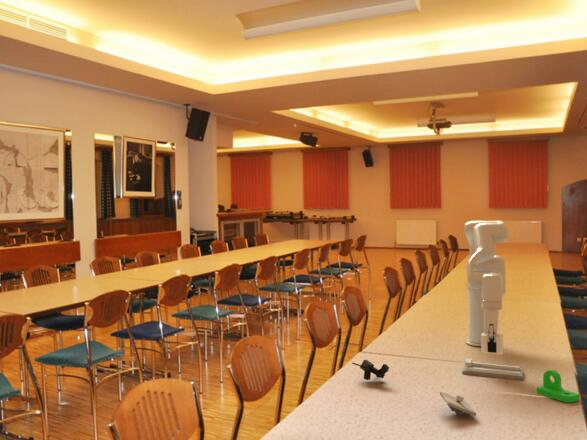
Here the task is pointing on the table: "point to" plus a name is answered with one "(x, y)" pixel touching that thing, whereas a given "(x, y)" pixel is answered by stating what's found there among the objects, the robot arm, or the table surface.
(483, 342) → the block
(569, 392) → the mechanical part
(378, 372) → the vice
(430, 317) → the table surface
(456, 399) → the light switch
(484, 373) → the rail plate
